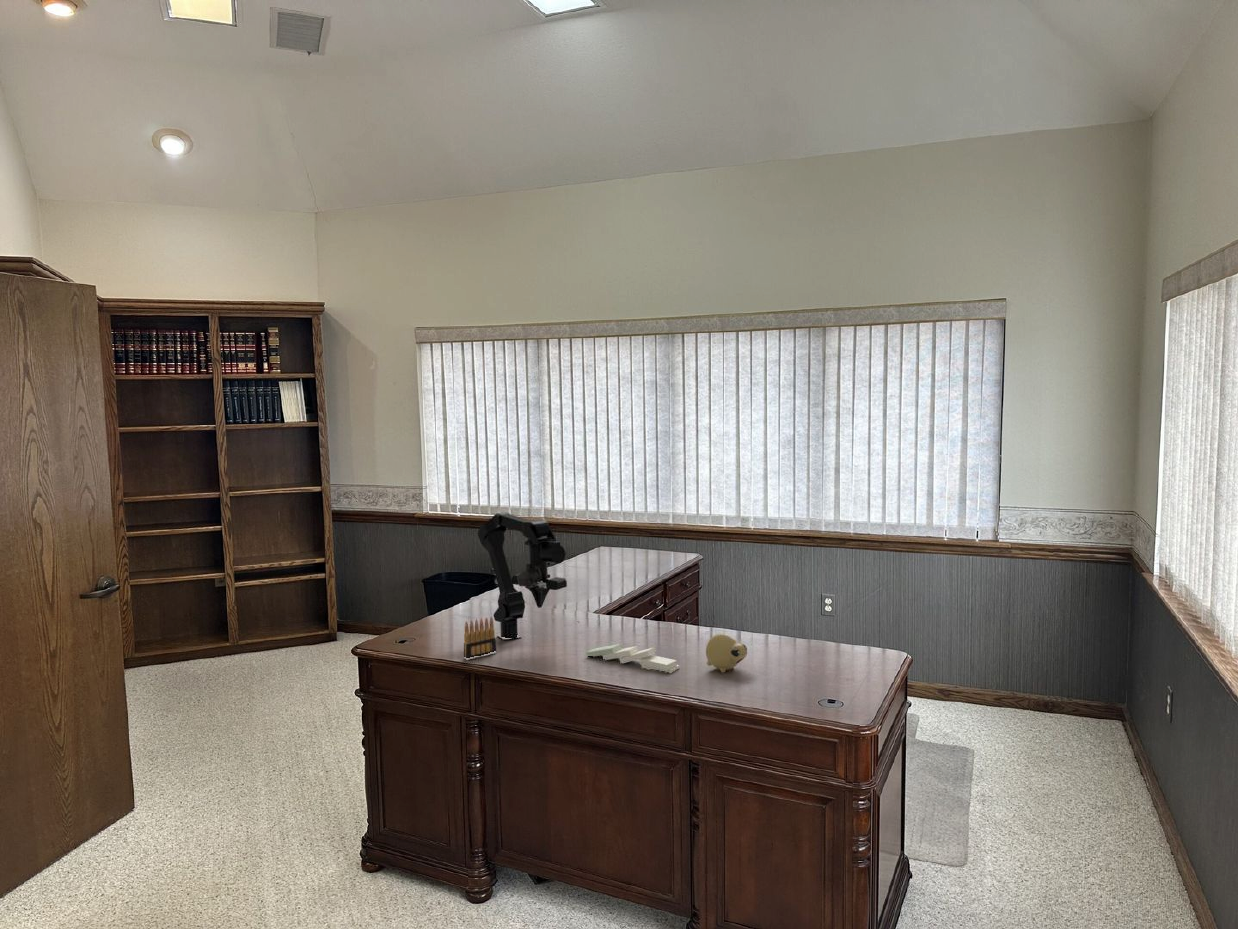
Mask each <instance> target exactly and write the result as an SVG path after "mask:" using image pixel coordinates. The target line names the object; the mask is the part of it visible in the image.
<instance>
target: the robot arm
mask: <svg viewBox="0 0 1238 929" xmlns="http://www.w3.org/2000/svg"><path fill="white" fill-rule="evenodd" d="M508 529H511V530H514V531H516V532H519V533H521V534H522V536H523V537H524V538H526V539H527V540H526V541H525V542H524V545H525V546H528V555H529V556H528V558H529V560H528V561H529V562H528V563H526V568H525V570H522V572H519V573H516V574H513V575H511V572H510V569H509V565H508V561H507V558H506V555H505V551H504V544H505V541H506V536H505V533H506V532H507V531H508ZM477 536H478V539H479V541H480V544H481V546H482V547H483V548H484V549H485V550H486V551H487V552H488V555H489V559H490V562H491V565H492V569H493V572H494V576H495V580H496V583H497V587H498V590H499V595H498V599H497V605H498V606H497V609H496V610H495V611H494V612H493V620H494V621H496V622H499V623H500V624H499V625H500V626H499V627H500V634H501V637H505V638H516V637H517V635H518V634H519V632H518V620H519V619H523V617H524V614H525V608H526V605H525V603H526V601H525V599H524V594H523V592H522V591H521V590H520V591H518V590H517V589H516V588H515V585H516V586H517V585H518V586H519V587H525V589H527V590H529V591H530V592H531V594H532V596H533V599H534V601H535V603H536V606H537V608H538V609H540V608H542V607H543V605H544V602H545V600H546V598H547V595H548V593H549V591H552V590H553V591H558V590H561V589H564V588H567V587H568V581H567V579H566V578H564V577H557V576H555V577H553V578H551V574H550V573H549V574H548V572H549V571H548V566H551V564H556V565H557V564H559V565H560V564H562V562H564V561H565V558H566V553H567V552H566V550H565V547H563V545H561V541H557V539H556V537H555V533H554V532H553V531H552V529H551V527H550V525H549V522H548V521H547V520H545V519H527V518H523V517H520V516H517V515H514V514H510V513H508V512H505V511H503V512H499V513H496V514H494V515H493V516H492V517H491V518H490V519H489V520H487V521H485V522H484V523H483V524H482V525H481V526H480V527H479V529H478V532H477ZM516 639H517V638H516Z"/></svg>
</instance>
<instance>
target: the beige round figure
mask: <svg viewBox="0 0 1238 929" xmlns="http://www.w3.org/2000/svg"><path fill="white" fill-rule="evenodd" d="M747 655H748V647H747V645H746V644H743V643H740V642H738V641H737V640H735V639H734V638H733V637H731V636H729V635H728V634H725V633H717V634H715V635H713V636H712V637H711V638H710V639H709V640H708V642H707V644H706V647H705V656H706V659H707V663H706V664H707V666H709V667H711V666H713V667H714V668H716V669H719V670H720V673H724V674H725V672H726V671H728V670H732V668H733V669H734V668H735V667H736V666H737V665H738V664H739V663H740V662H742V660H745V658H746V657H747Z"/></svg>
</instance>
